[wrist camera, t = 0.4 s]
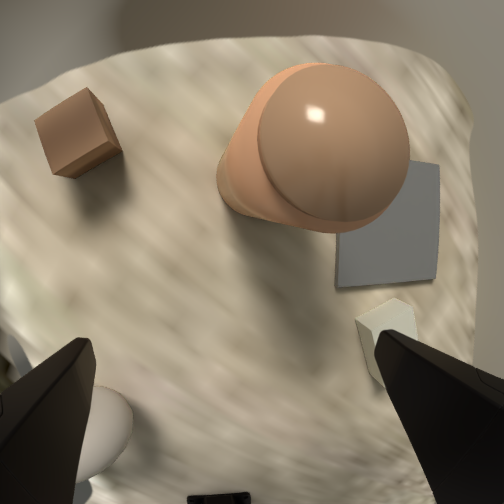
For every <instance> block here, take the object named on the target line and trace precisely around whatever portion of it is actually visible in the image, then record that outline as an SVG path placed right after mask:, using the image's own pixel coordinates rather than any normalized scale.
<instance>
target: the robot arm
mask: <svg viewBox="0 0 504 504" xmlns="http://www.w3.org/2000/svg"><path fill="white" fill-rule="evenodd" d="M374 357H375V360H376V363H377V366H378V368H379V371H380V374H381V377H382V379H383V382H384V385H385V388H386V390H387V393H388V395H389V397H390V399H391V401H392V404H393V406H394V408H395V410H396V412H397V414H398V416H399V418H400V420H401V422H402V425H403V427H404V429H405V431H406V433H407V435H408V438H409V440H410V442H411V444H412V446H413V449H414V451H415V453H416V455H417V457H418V460H419V462H420V464H421V467H422V469H423V471H424V473H425V476H426V478H427V480H428V483H429V485H430V488H431V490H432V492H433V495H434V497H435V500H436V502H437V504H504V379H501V378H498V377H496V376H494V375H491V374H489V373H487V372H484V371H482V370H480V369H478V368H475V367H473V366H471V365H469V364H467V363H465V362H463V361H460V360H458V359H456V358H454V357H452V356H450V355H447V354H445V353H443V352H441V351H439V350H437V349H434V348H432V347H430V346H428V345H426V344H424V343H421V342H419V341H417V340H415V339H413V338H411V337H409V336H406V335H404V334H402V333H400V332H398V331H396V330H393V329H388V330H382V331H381V332H380V334H379V336H378V340H377V343H376V346H375V349H374ZM95 371H96V359H95V355H94V351H93V347H92V343H91V341H90V339H89V338H80V337H78V338H75V339H74V340H72V341H71V342H70V343H68V344H67V345H66V346H64V347H63V348H61V349H60V350H59V351H57V352H56V353H54V354H53V355H52V356H50V357H49V358H48V359H46V360H45V361H43V362H42V363H41V364H39V365H38V366H37V367H35V368H34V369H33V370H31V371H30V372H28V373H27V374H26V375H25V376H23V377H22V378H20V379H19V380H18V381H16V382H15V383H14V384H12V385H11V386H10V387H8V388H7V389H6V390H4V391H3V392H2V393H1V394H0V504H72V503H73V496H74V490H75V484H76V478H77V472H78V466H79V461H80V456H81V451H82V446H83V441H84V436H85V432H86V427H87V423H88V418H89V414H90V409H91V401H92V393H93V385H94V378H95ZM187 504H251V496H250V493H248V492H242V493H231V494H218V495H198V496H188V497H187Z"/></svg>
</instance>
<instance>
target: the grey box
mask: <svg viewBox="0 0 504 504" xmlns="http://www.w3.org/2000/svg"><path fill="white" fill-rule="evenodd" d="M355 321H356V324H357V328H358V331H359V335H360V339H361V342H362V346H363V350H364V354H365V358H366V362H367V366H368V370H369V373H370V374H371V375H372V376H373V377H374V378H375V379H376V380H377V381H378V382H379V383H380V384H381V385H382V386H383V387H384V388H385V385H384V382H383V379H382V377H381V374H380V371H379V368H378V366H377V363H376V360H375V357H374V349H375V346H376V343H377V340H378V336H379V334H380V332H381V331H382V330H388V329H393V330H396V331H398V332H400V333H402V334H404V335H406V336H409V337H411V338H413V339H415V340H417V341H418V335H417V329H416V323H415V317H414V312H413V307H412V306H410V305H408V304H406V303H404V302H402V301H400V300H398V299H396V298H392V299H390V300H388V301H387V302H385V303H383V304H381V305H379V306H378V307H376V308H374V309H372V310H370V311H368V312H366V313H365V314H363V315H361V316H359V317H357V318H355Z"/></svg>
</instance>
